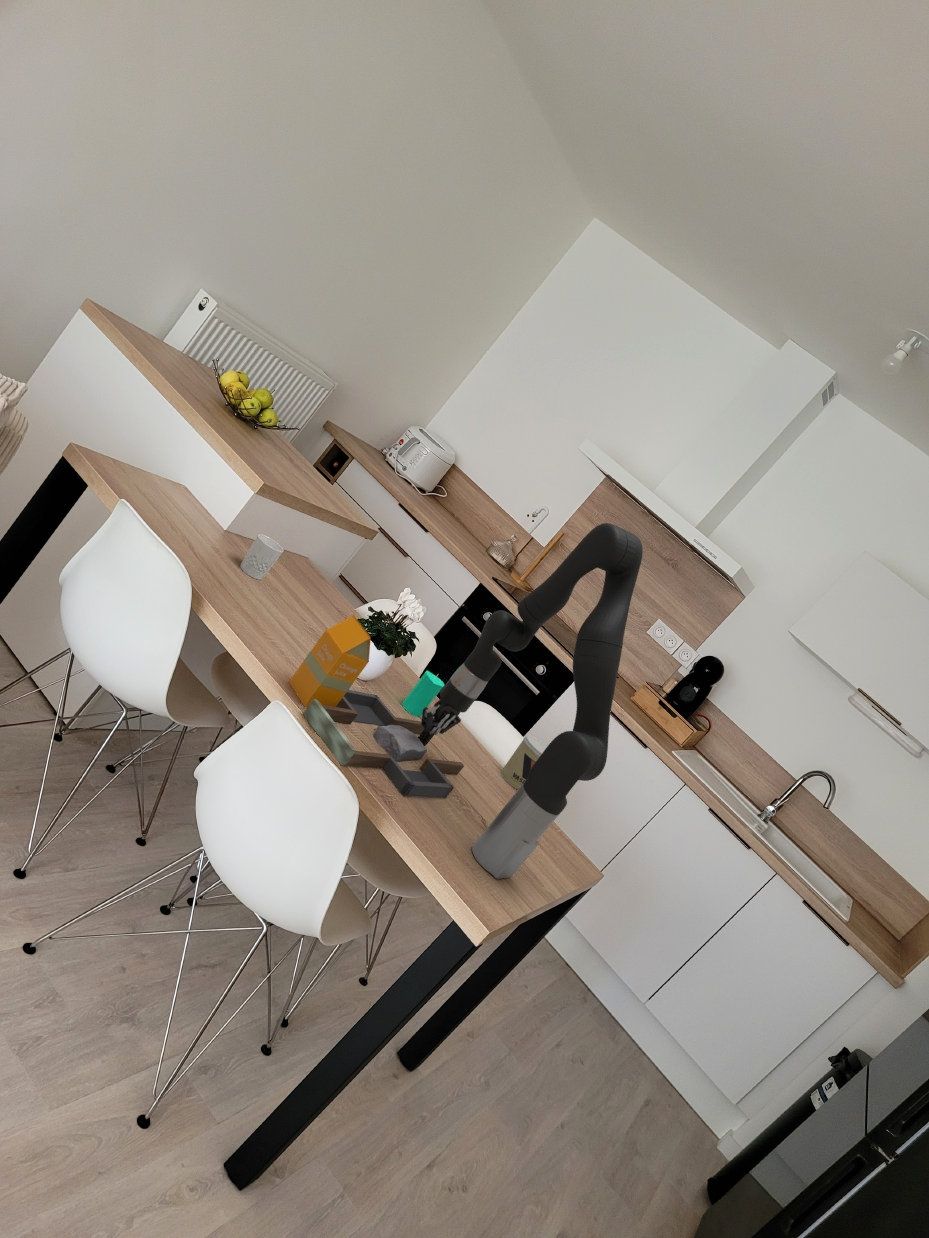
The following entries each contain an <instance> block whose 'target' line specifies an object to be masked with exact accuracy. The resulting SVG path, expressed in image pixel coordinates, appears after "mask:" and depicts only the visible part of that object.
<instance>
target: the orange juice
mask: <svg viewBox="0 0 929 1238" xmlns="http://www.w3.org/2000/svg"><path fill="white" fill-rule="evenodd" d="M371 639H372V637H371V636H370V634H369V633H368V632H367V631H366V629H365V627H364V626H363V625H361V623H360V621H359V620H358V619H357V617H356V616H355V615H354V614H353V615H351V616H349V617H348V618H345V619H344V620H342V621H340V622H338V623H336V624H334V625H333V626H331V627H329V628H327V629H325V631H324V632H323V633H322V635H321V636H320V637H319V638H318V641H316V643H315V645H314V646H313V647H312V649H311V650H310V651H309V653H308V654H307V655H306V656H305V658H304V660H303V662H302V663H301V664H300V665H299V667H298V668H297V670H296V671H295V673H294V674H293V675H292V677H291V679H290V680H289V682H288V683H289V684H290V686H291V687H292V689H293V690H294V692H295V693H296V695H297V697H298V699H299V700H300V702H301V703H302V705H303V707H305V708H307V707H308V706H309V704H310V703H311V702H312V700H313V699H316V700H318V701H319V703H320V704H321V705H326V706H332V707H336V706H337V704H338V703H339V702H340V700H341V699H342V698H343V696H344V695H345V694H346V693H347V691H348V690H351V689H350V688H351V687H352V685H354V683H355V681H356V680H357V679H358V677H359V676H360V675H361V673H362V672H363V670H364V669H365V667H367V665H368V664H369V662H370V652H371V651H370V650H371Z"/></svg>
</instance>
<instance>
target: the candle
mask: <svg viewBox="0 0 929 1238" xmlns="http://www.w3.org/2000/svg"><path fill="white" fill-rule="evenodd" d="M438 675H439V674H437V675H435V674H433V672H430V671H429V670H426V671H425V672H424V674H423V675H422V676H421V678H420V679H419V680H418V681H417V682H416V684H415V685H414V687H413V688H412V689H411V690H410V692H409V693H408V694H407V695H406V697H405V699H404V700H403V702H401V705H402V708H404V710H406V712H408V713H409V714H410V715H412V716H413V717H415V718H421V717H422V713H423V709H424V708H425V707H427V708H429V706H430V705H431V703H432V702H433V701H434V699H435V698H436V697H437V695H438V694H440V691H441V690H442V689H443V687H444V686H445V683H444V681H443V680H441V679H440V678H439V677H438Z"/></svg>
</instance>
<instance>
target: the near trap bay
mask: <svg viewBox="0 0 929 1238" xmlns="http://www.w3.org/2000/svg"><path fill="white" fill-rule="evenodd" d="M381 770H382V771H383V773H385V774H386V775H385V776H387V778H389V780H390V781H391V782H392V784H393V786H394V787H395V788H396V789H397V790H398V792H399V793H400V794H401V795H402V797H416V798H417V797H418V798H440V799H441V798H442V799H443V798H444V799H446V798H448V796H449V795H450V793H451V792H452V791H453V790H454V788H455V787H454V786H453V784H452V783H451V781H449V780H448V778H447V777H446V776H445V774H442V773H441V771H440V770H439V769H438V768H437V767H436V765H435V764H434V763H433V762H430V763H429V764H428V765H427V767H426V768H425V769H424V770H423V772H422V771H421V770H410V769H403V768H402V767H401V766H400V764H399V762H398V761H395V759H394V758H390V759H389V760H388V762H387V763H386V764H385V766H384V767H383V768H382V769H381Z"/></svg>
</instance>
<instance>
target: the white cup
mask: <svg viewBox="0 0 929 1238" xmlns="http://www.w3.org/2000/svg"><path fill="white" fill-rule="evenodd" d="M283 553H284V548H283V547H282V546H281V545H280V543H278V542H277V541H276V540H274V539H273V538H271V537H269V536H267V535H265V534H260V533H258V534H257V535H256V538H255V539H254V541H253V542H252V544H251V545H250V548H248V550H247V553H246V554H245V557H244V559H243V560H242V562H241V563H240V565H239V566H240V569H241V571H243V573H245V574H246V575H248V576H249V577H251V578H252V579H254V580H255V579H256V580H260V581H261V580H262V579H263V578H265V576H266V575H267V573H268V572H269V571H270V570H271V568H272V567H273V566H274V565H275V563H276V562H277V561H278V559H279V558H280V557H281V555H282V554H283Z"/></svg>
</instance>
